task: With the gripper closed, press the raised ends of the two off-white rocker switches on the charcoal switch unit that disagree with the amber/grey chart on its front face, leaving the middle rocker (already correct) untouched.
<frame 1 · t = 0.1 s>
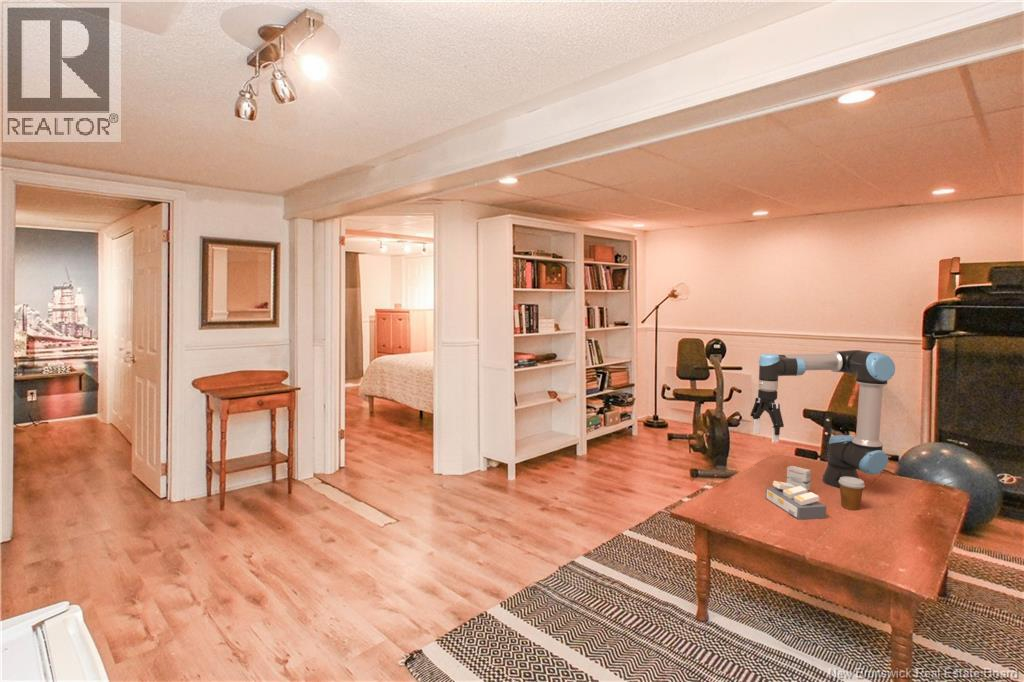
hand: (765, 437, 232), 28 cm above the table, fingers open, 13 cm apart
disposable coffee cup: (849, 507, 227), on the table
ink box: (797, 493, 242), on the table
switch unit: (794, 507, 226), on the table
rocker 3: (806, 498, 218), point 7 cm above the table, hinge at 12.0°
rocker 1: (784, 485, 232), point 7 cm above the table, hinge at -12.0°
rocker 2: (795, 492, 225), point 7 cm above the table, hinge at 12.0°
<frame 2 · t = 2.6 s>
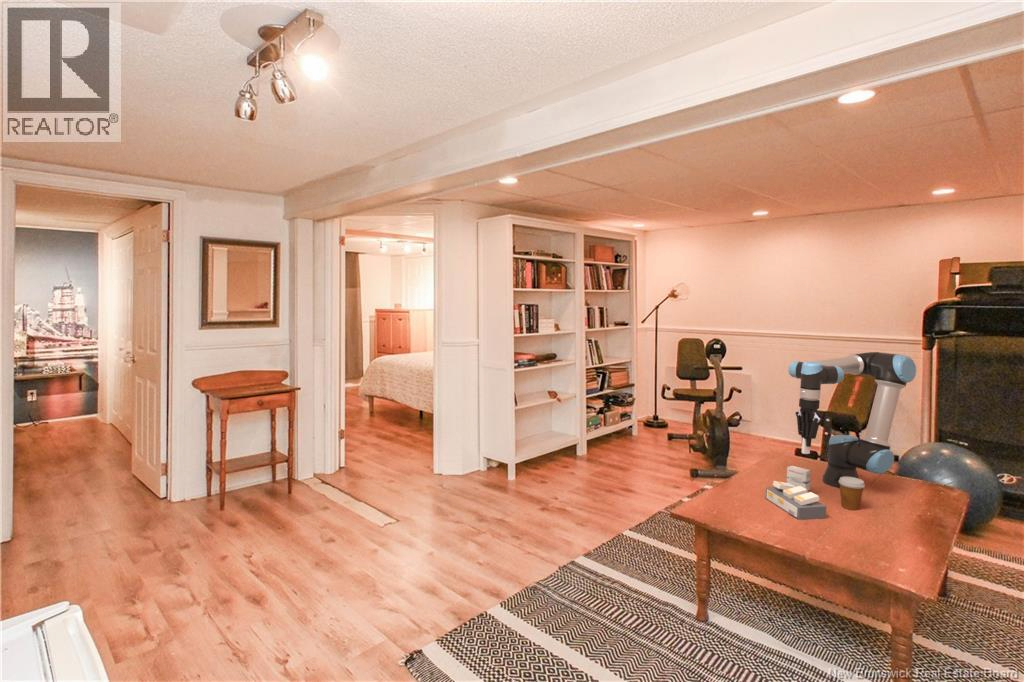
hand: (805, 453, 226), 23 cm above the table, fingers closed
nothing on the table moved.
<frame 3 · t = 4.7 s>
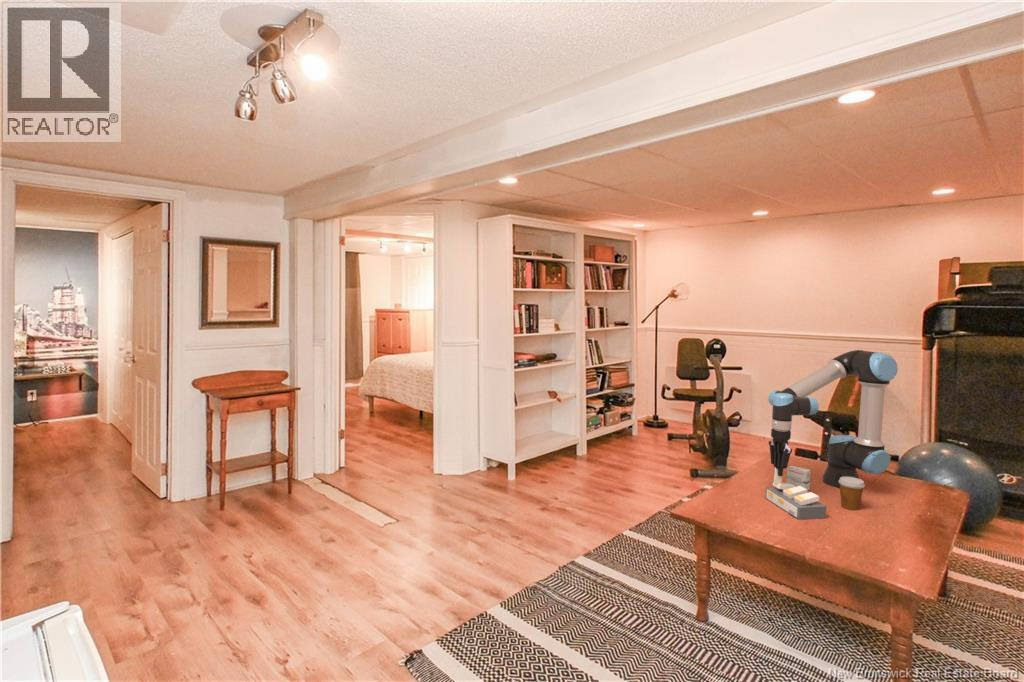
hand: (777, 482, 231), 9 cm above the table, fingers closed
rocker 1: (784, 485, 232), point 7 cm above the table, hinge at -11.5°, touching gripper
everything else where it was.
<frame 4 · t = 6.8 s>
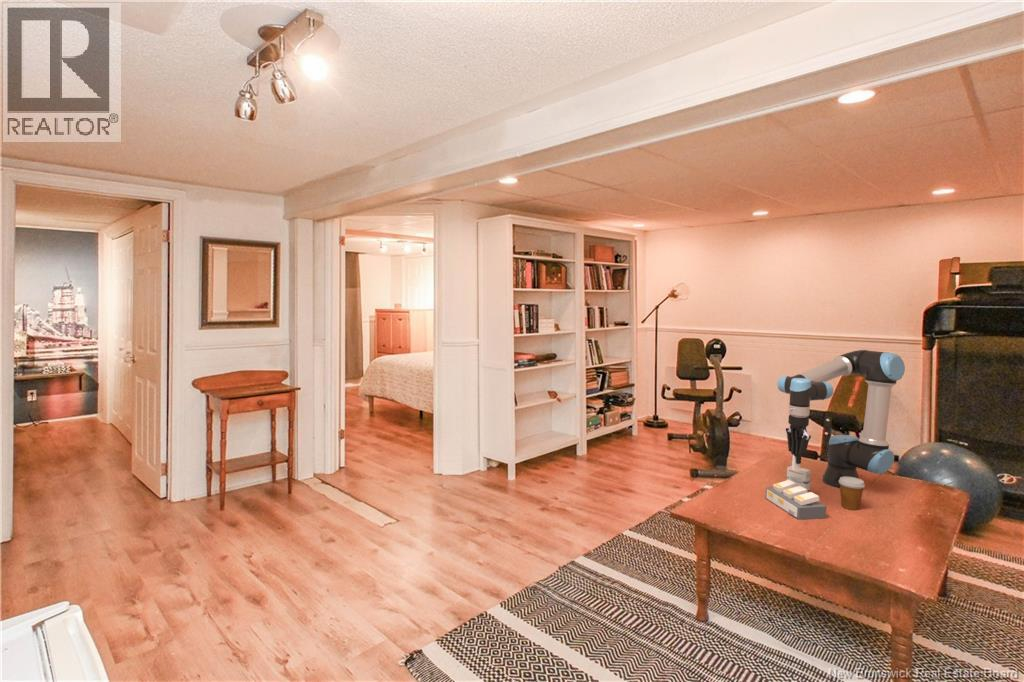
hand: (795, 470, 224), 16 cm above the table, fingers closed
rocker 1: (784, 485, 232), point 7 cm above the table, hinge at 13.5°, touching switch unit
everything else where it was.
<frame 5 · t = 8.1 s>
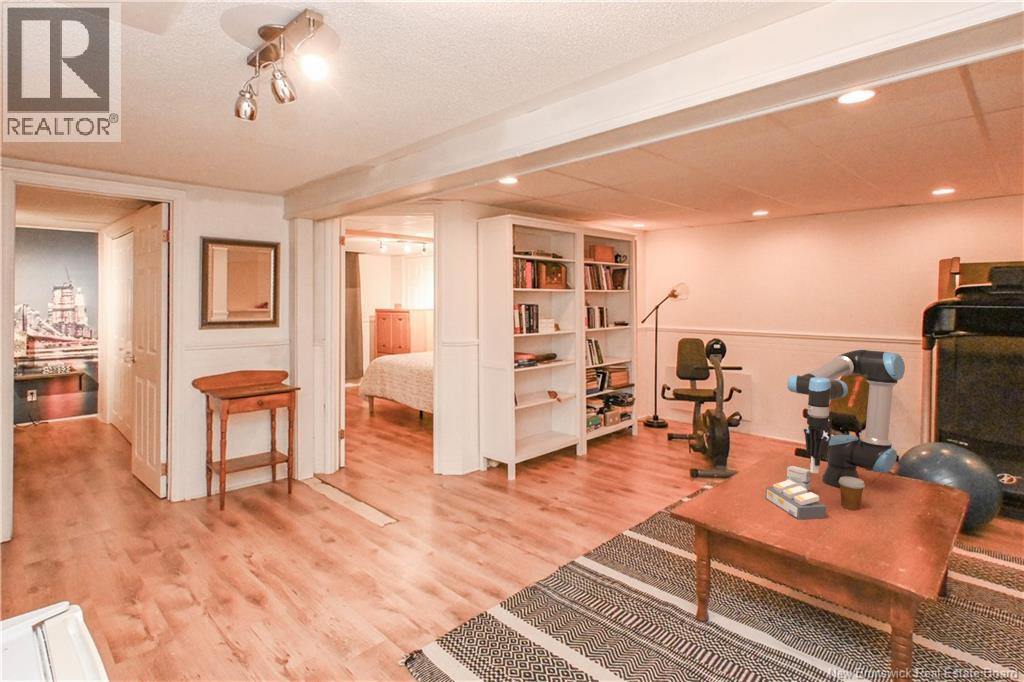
hand: (814, 472, 217), 18 cm above the table, fingers closed
rocker 1: (784, 485, 232), point 7 cm above the table, hinge at 14.2°, touching switch unit
everything else where it was.
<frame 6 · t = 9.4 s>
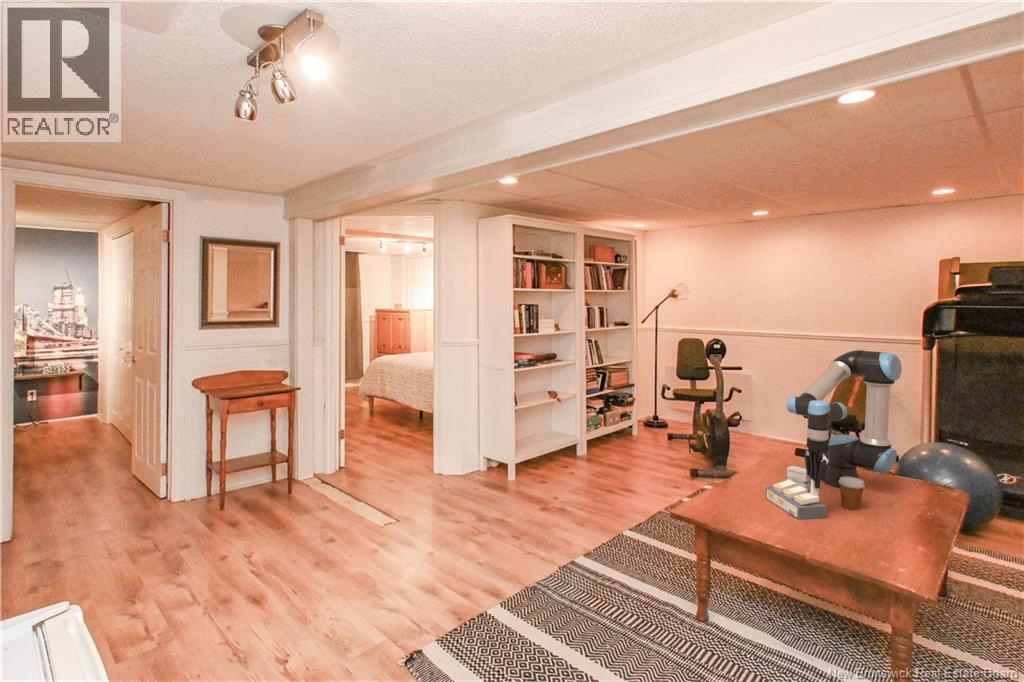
hand: (814, 494, 218), 8 cm above the table, fingers closed
rocker 3: (806, 498, 218), point 7 cm above the table, hinge at 7.3°, touching gripper
everything else where it was.
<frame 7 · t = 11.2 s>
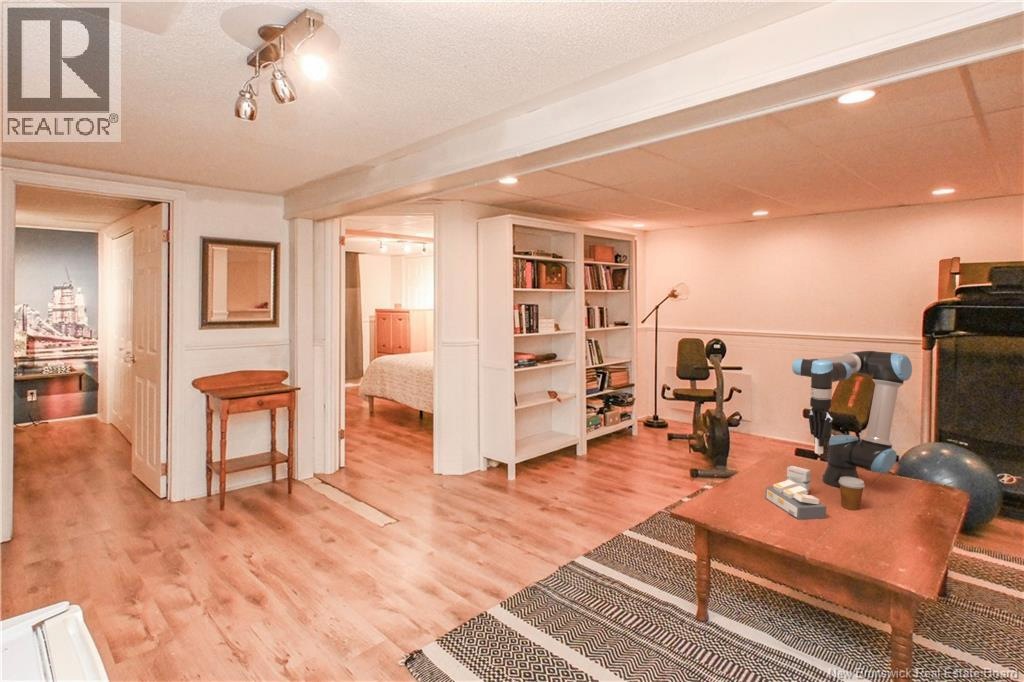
hand: (818, 453, 222), 24 cm above the table, fingers closed
rocker 3: (806, 498, 218), point 7 cm above the table, hinge at -11.3°
everything else where it was.
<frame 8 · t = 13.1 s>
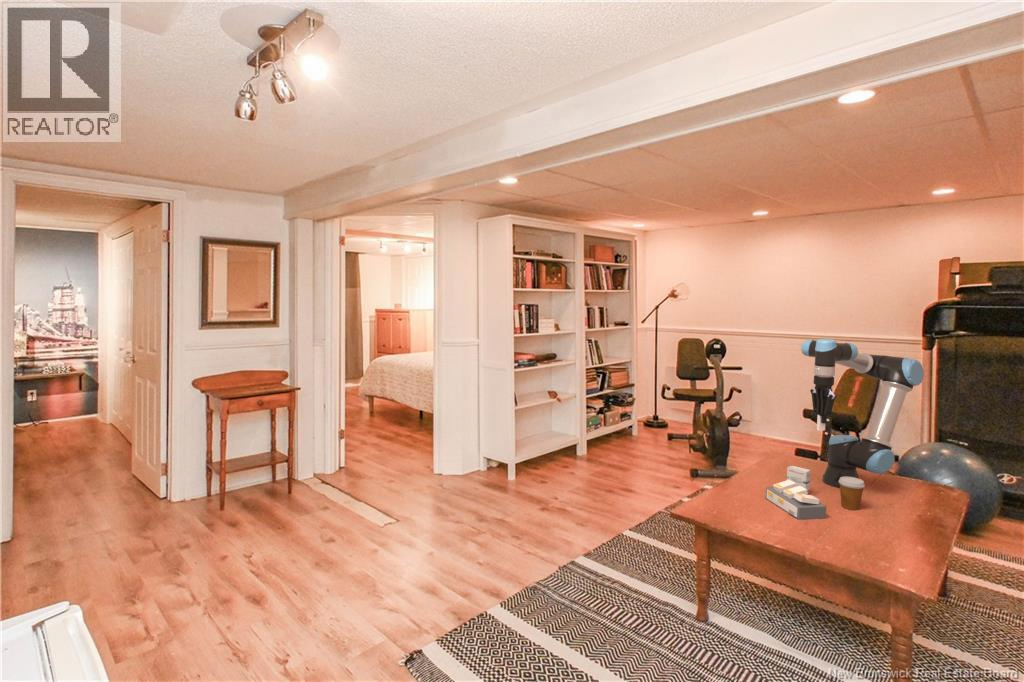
hand: (820, 430, 228), 32 cm above the table, fingers closed
rocker 3: (806, 498, 218), point 7 cm above the table, hinge at -10.4°
everything else where it was.
at the end: rocker 1 at +14° (first picture: -12°); rocker 2 at +12° (first picture: +12°); rocker 3 at -10° (first picture: +12°) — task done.
